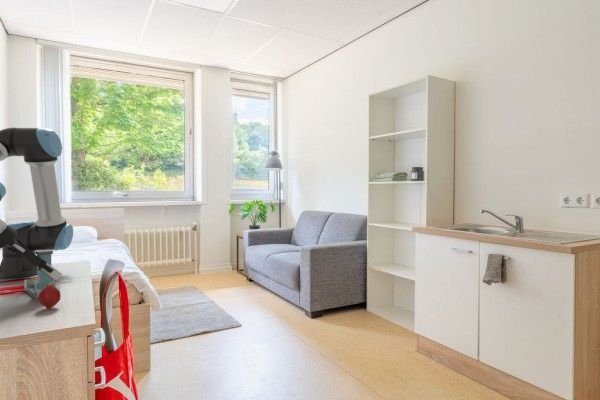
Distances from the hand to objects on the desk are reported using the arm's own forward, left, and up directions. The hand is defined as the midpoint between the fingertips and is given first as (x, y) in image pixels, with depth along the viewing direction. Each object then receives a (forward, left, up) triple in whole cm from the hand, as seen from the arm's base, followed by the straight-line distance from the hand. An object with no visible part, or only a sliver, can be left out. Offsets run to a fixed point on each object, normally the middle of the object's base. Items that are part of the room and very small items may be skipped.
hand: (57, 275), depth 132 cm
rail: (-1, -6, -7) cm, 9 cm away
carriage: (+2, -3, -4) cm, 5 cm away
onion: (+17, +5, -7) cm, 19 cm away
